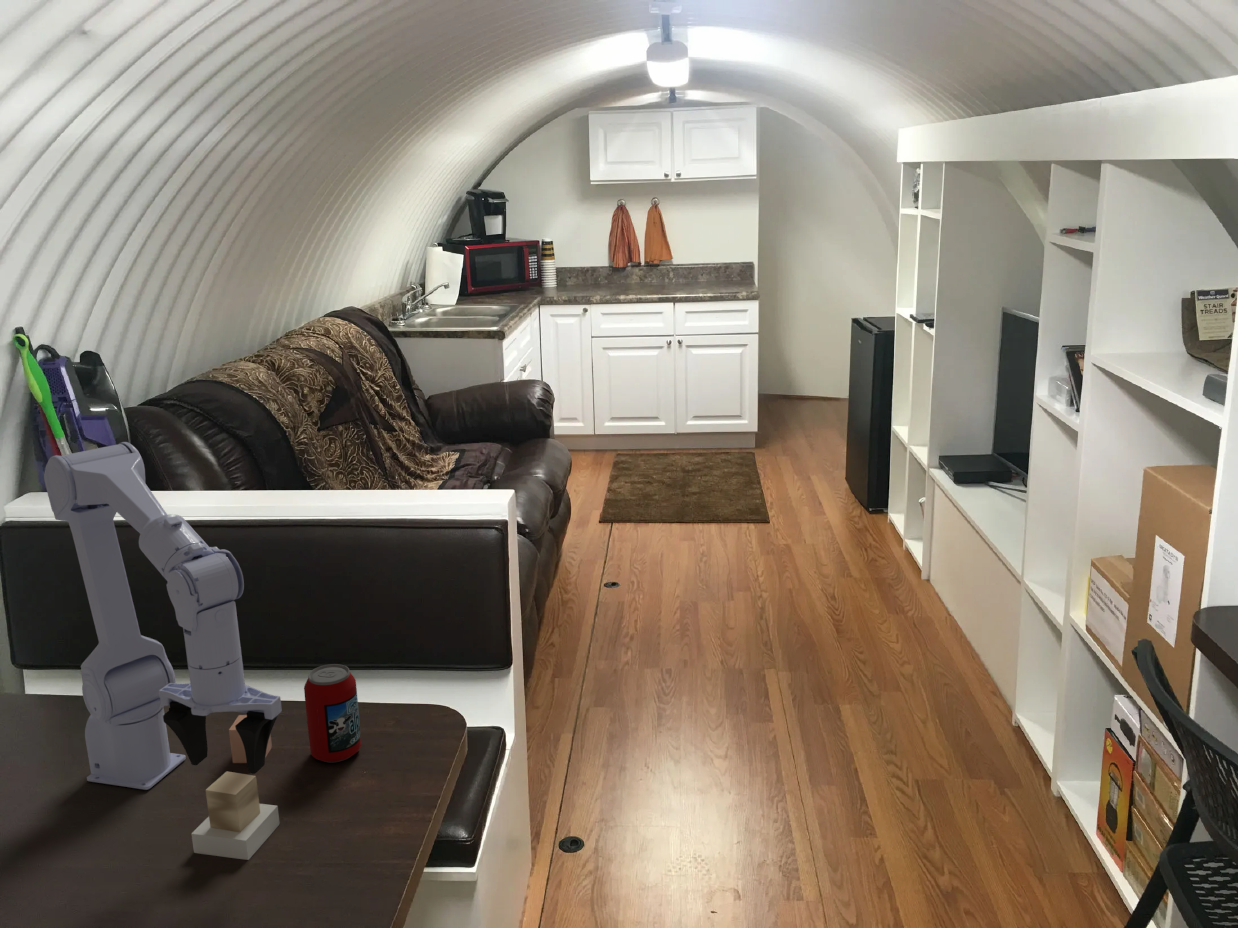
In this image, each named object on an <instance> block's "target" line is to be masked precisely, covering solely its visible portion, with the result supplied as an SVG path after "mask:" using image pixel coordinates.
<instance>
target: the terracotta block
mask: <svg viewBox="0 0 1238 928" xmlns="http://www.w3.org/2000/svg"><path fill="white" fill-rule="evenodd" d="M245 717H247V714H238V715H237V717H236V719H235V720H234V722H233V723H232V724H231V726H230V728H228V736H229V742H230V751H231V761H232V764H247V761H246V754H245V749H244V745H243V742H242V740H241V737H240V735H239V733H238V732H237V730H236V728H235V725H237V724H238V723H239V722H240V721H241V720H243V719H244V718H245ZM271 736H272V735H271V733H270V737H269V740H268V744H267V749H266V756H265V759H266V758H267V756H268V754H269V753H270V751H271V749H272V748H273V744H272V737H271Z"/></svg>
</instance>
